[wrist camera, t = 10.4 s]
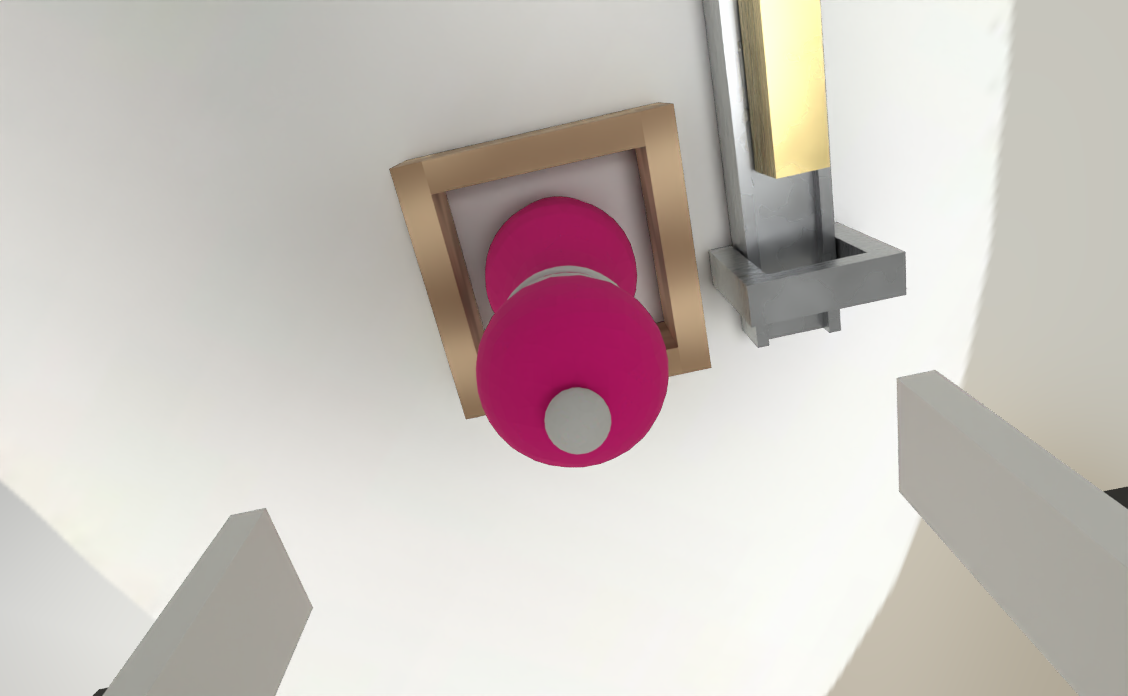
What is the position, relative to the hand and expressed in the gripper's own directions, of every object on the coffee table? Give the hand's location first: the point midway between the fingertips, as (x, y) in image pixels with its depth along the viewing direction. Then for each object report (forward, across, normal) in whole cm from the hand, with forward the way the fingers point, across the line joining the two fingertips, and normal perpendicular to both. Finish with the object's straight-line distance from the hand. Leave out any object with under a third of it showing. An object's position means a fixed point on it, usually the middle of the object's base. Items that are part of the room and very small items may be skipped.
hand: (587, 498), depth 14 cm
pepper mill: (+23, 0, -1) cm, 23 cm away
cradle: (+23, 0, -1) cm, 23 cm away
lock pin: (+21, +11, +7) cm, 25 cm away
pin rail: (+23, +11, +3) cm, 26 cm away
